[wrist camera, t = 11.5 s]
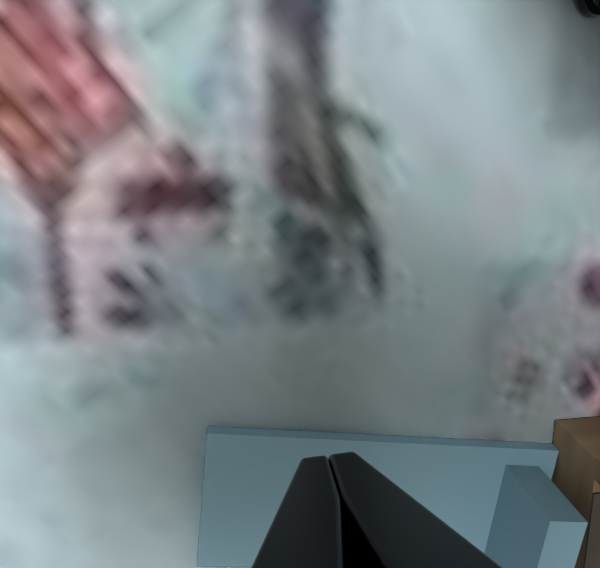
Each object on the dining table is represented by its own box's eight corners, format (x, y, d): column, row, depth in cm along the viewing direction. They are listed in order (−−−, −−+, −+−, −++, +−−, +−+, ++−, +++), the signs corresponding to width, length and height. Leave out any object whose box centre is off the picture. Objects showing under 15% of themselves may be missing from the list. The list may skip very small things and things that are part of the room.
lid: (546, 438, 24) (612, 504, 20) (515, 556, 26) (569, 641, 21) (208, 420, 22) (199, 489, 18) (198, 549, 24) (188, 641, 20)
